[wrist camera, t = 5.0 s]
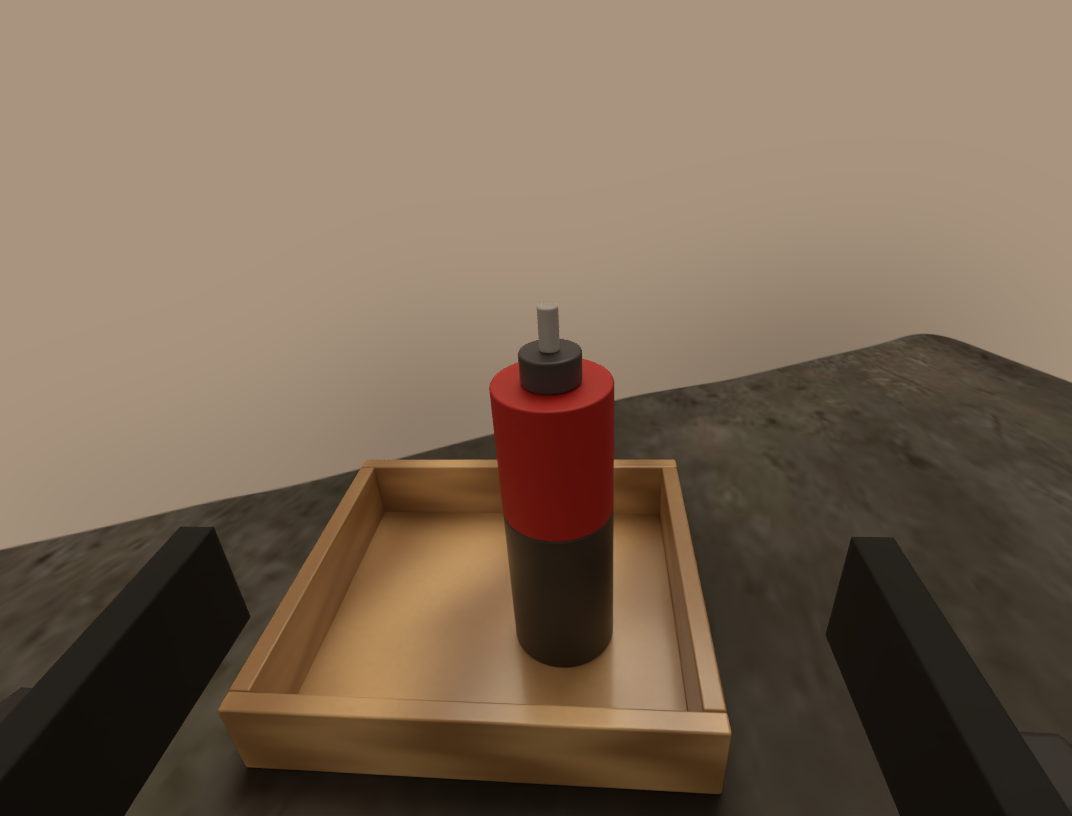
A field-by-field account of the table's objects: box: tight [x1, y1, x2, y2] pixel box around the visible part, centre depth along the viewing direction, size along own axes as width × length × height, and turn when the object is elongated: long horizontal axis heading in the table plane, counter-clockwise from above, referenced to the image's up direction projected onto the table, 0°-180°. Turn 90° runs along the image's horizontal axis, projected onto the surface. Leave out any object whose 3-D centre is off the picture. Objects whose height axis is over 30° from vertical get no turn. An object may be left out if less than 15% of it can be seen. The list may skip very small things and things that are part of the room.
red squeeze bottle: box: [489, 303, 614, 668], centre depth 23 cm, size 4×4×15 cm
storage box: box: [218, 460, 732, 794], centre depth 27 cm, size 18×16×4 cm
